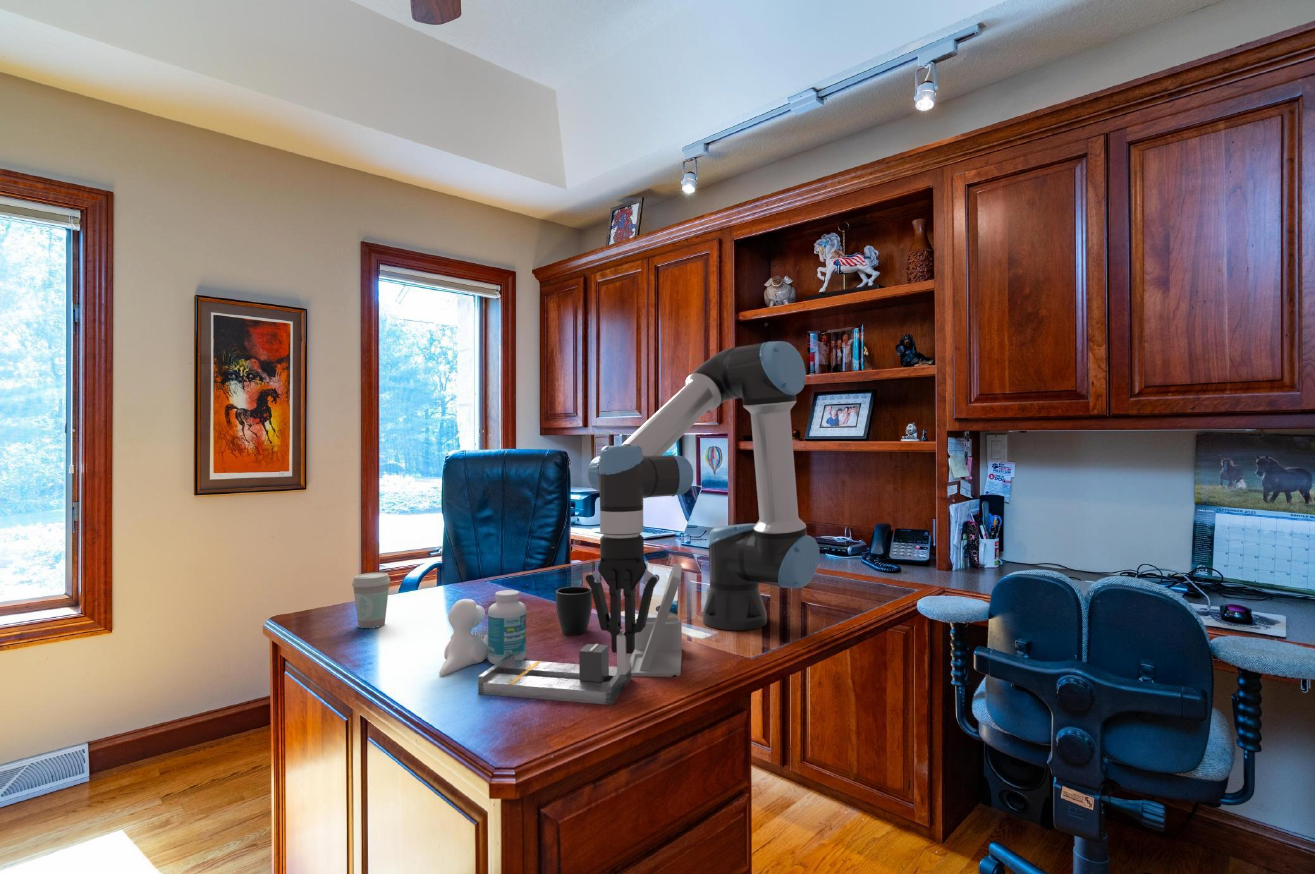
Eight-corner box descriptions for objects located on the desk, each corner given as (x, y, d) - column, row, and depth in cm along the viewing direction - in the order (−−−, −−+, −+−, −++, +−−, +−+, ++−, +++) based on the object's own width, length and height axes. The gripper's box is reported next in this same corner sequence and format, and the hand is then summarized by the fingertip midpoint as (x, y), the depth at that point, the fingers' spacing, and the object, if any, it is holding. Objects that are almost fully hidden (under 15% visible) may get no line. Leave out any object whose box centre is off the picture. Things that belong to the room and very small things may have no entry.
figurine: (507, 648, 136) (506, 589, 136) (461, 678, 119) (460, 610, 119) (471, 645, 138) (470, 587, 138) (420, 674, 121) (420, 608, 121)
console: (631, 678, 117) (631, 662, 117) (611, 704, 105) (611, 686, 105) (509, 669, 123) (509, 653, 123) (478, 693, 111) (478, 676, 111)
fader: (608, 678, 114) (608, 644, 114) (601, 686, 110) (601, 651, 110) (587, 676, 115) (587, 642, 115) (579, 685, 111) (579, 649, 111)
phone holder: (635, 646, 136) (633, 561, 136) (683, 647, 135) (681, 561, 136) (626, 676, 119) (625, 578, 119) (681, 676, 118) (680, 578, 118)
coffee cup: (347, 625, 155) (346, 575, 155) (383, 618, 161) (383, 570, 161) (358, 632, 149) (358, 580, 149) (396, 625, 155) (395, 575, 155)
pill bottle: (507, 669, 123) (506, 598, 123) (480, 662, 127) (479, 593, 127) (534, 658, 129) (533, 590, 130) (507, 652, 133) (507, 586, 134)
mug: (600, 622, 154) (600, 583, 155) (587, 637, 143) (586, 594, 143) (567, 621, 156) (567, 582, 156) (551, 636, 144) (551, 593, 144)
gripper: (663, 532, 114) (665, 666, 113) (593, 530, 117) (594, 661, 116) (653, 538, 106) (655, 682, 106) (578, 536, 109) (580, 676, 109)
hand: (623, 671), depth 111 cm, fingers closed
